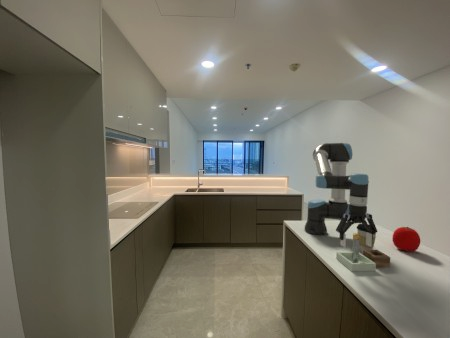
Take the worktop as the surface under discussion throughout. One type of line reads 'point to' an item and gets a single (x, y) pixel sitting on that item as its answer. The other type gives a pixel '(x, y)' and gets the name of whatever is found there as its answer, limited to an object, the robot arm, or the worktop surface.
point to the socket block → (377, 258)
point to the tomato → (406, 239)
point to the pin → (355, 248)
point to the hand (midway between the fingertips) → (355, 245)
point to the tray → (362, 264)
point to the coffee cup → (364, 238)
